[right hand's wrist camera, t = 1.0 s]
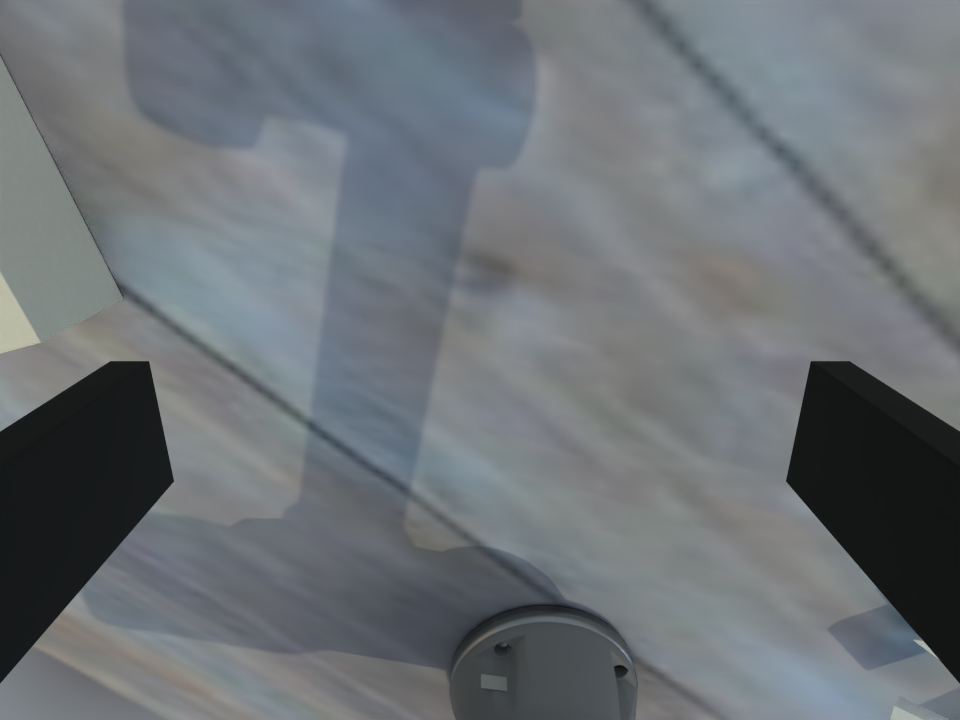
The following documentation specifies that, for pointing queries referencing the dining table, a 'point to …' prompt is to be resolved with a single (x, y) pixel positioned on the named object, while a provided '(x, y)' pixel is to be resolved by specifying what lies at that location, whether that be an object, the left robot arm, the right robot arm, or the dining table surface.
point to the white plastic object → (909, 715)
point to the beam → (41, 238)
